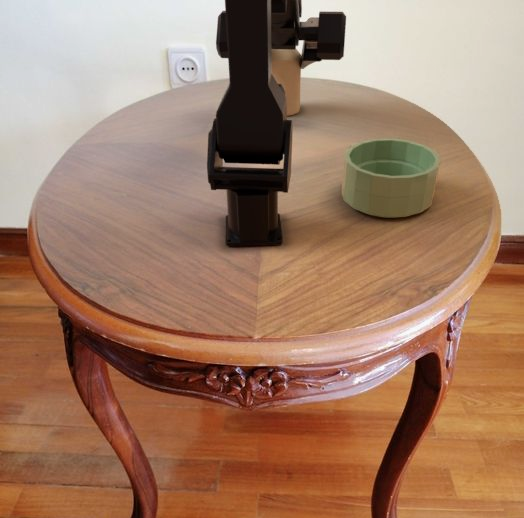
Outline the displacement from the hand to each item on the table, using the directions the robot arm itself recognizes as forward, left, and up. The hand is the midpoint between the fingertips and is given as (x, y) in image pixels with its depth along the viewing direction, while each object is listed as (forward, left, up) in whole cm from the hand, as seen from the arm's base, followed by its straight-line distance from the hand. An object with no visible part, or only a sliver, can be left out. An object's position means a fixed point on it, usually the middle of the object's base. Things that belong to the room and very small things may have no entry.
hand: (284, 65), depth 95 cm
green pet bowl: (-33, -11, -7) cm, 36 cm away
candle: (-1, 0, -7) cm, 7 cm away
